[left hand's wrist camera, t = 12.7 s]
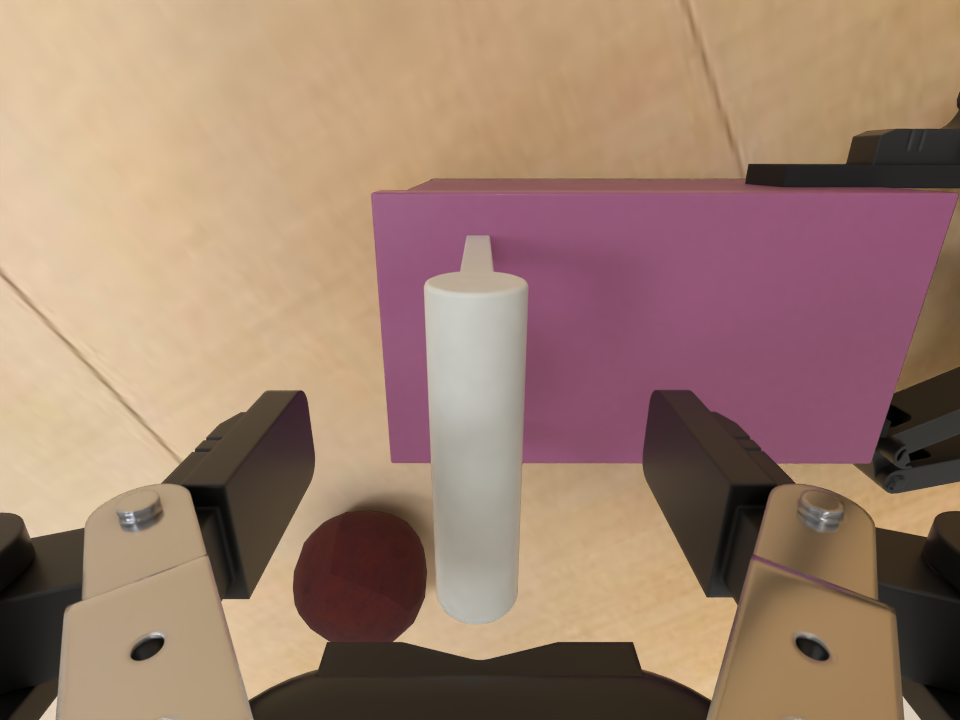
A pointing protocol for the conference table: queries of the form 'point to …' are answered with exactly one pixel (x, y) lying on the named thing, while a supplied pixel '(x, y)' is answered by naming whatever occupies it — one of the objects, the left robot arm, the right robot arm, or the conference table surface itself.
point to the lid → (632, 335)
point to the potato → (361, 578)
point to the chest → (611, 185)
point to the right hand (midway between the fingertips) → (739, 305)
